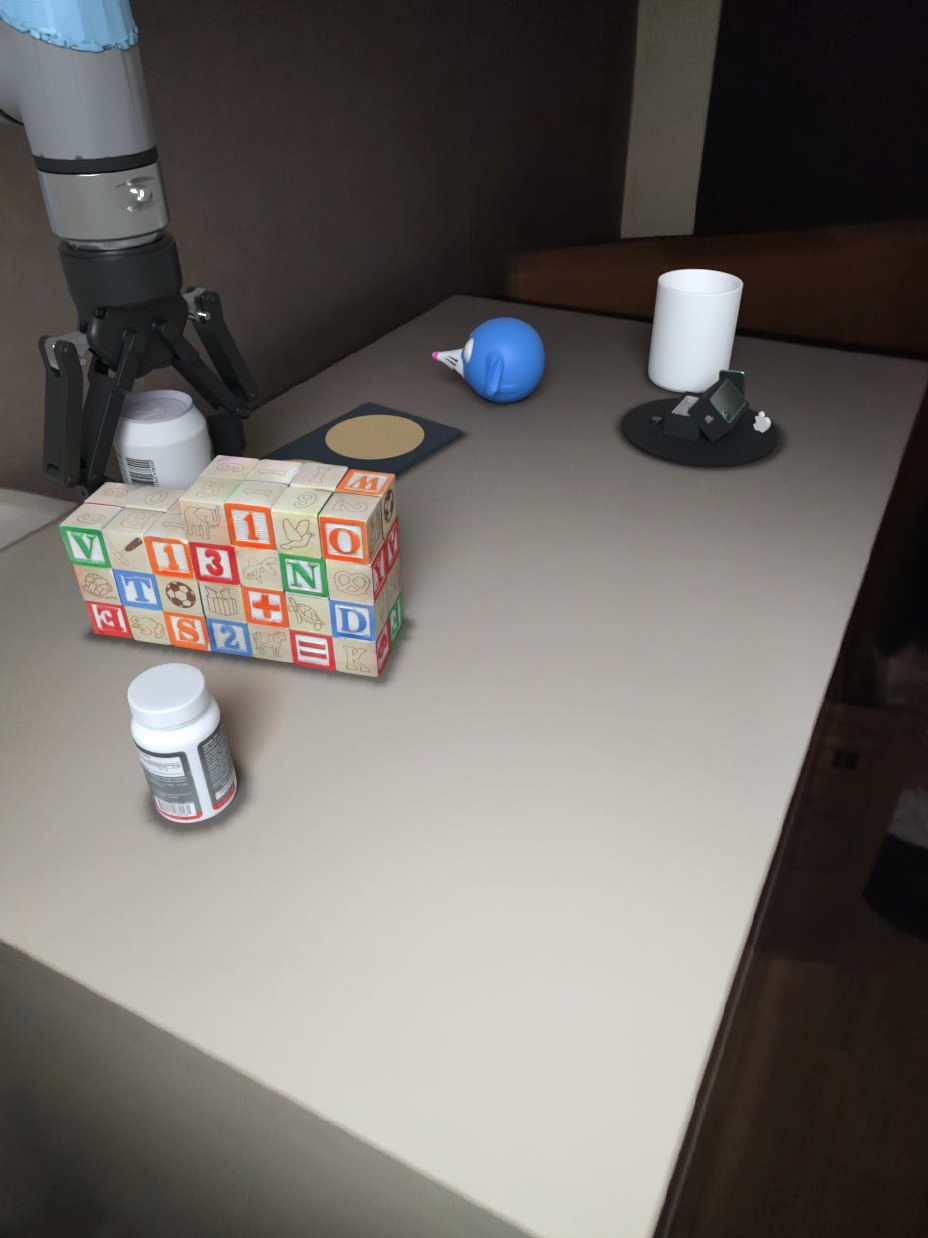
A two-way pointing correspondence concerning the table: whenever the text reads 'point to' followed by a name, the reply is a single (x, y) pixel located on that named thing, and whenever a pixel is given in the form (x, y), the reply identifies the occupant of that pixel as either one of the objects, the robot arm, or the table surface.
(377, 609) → the stack of blocks
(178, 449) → the beverage can
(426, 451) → the mat
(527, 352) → the blue mole toy
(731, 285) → the mug
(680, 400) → the apple device display stand
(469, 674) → the table surface
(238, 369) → the robot arm
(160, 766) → the pill bottle
